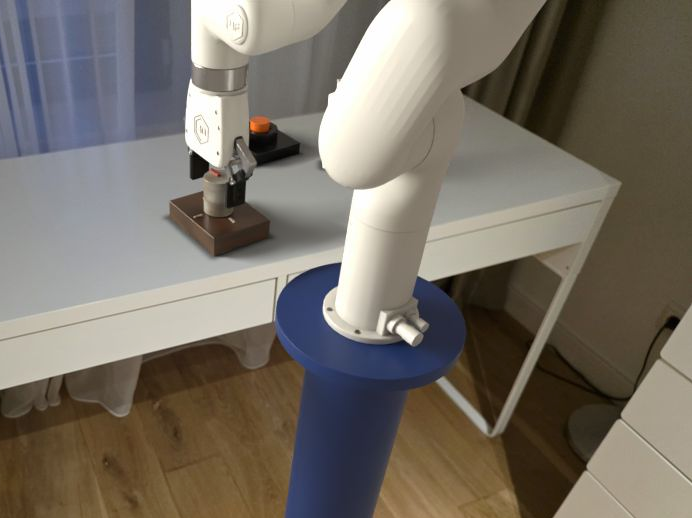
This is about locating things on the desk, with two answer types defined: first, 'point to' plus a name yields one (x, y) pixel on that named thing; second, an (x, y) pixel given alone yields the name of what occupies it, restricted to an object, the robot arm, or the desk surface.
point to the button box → (271, 145)
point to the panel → (219, 224)
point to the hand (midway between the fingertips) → (216, 191)
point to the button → (260, 124)
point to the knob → (215, 193)
